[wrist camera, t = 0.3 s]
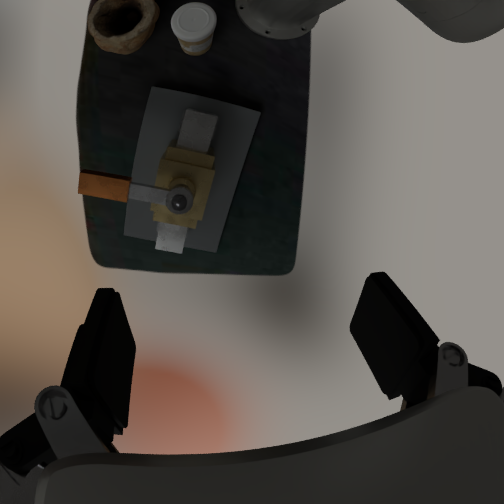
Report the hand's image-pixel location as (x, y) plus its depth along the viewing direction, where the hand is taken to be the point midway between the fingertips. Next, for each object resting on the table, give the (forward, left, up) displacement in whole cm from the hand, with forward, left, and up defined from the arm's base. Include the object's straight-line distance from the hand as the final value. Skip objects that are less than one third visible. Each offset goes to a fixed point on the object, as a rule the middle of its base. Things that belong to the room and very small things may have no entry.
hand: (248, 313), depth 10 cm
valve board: (+6, -3, -35) cm, 36 cm away
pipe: (-19, -17, -35) cm, 43 cm away
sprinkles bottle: (-14, -7, -35) cm, 39 cm away
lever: (+6, -8, -24) cm, 26 cm away
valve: (+6, -3, -34) cm, 34 cm away
